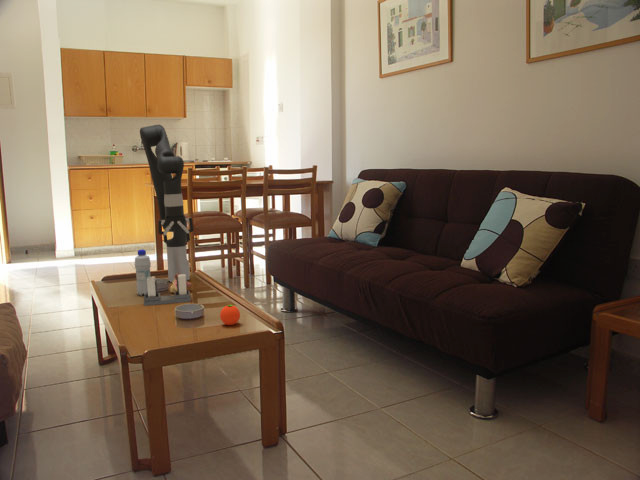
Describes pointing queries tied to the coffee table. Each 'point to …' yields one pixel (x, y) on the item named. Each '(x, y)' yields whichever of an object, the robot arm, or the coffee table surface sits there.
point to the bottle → (142, 271)
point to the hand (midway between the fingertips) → (177, 242)
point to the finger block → (181, 284)
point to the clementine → (230, 315)
